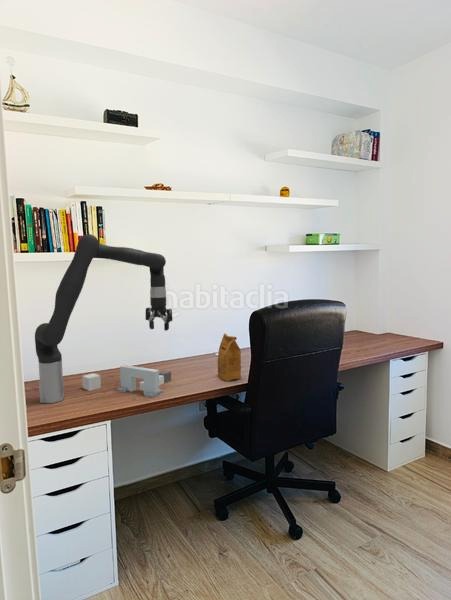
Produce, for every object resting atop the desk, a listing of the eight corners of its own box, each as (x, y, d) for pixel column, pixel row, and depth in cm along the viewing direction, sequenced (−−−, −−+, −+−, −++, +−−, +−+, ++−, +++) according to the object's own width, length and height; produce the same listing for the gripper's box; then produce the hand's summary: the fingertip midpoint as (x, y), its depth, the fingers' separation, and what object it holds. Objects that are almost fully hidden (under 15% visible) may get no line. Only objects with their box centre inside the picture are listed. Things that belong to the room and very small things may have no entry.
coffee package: (232, 373, 219) (232, 331, 217) (243, 379, 208) (243, 336, 205) (214, 376, 215) (214, 333, 212) (225, 382, 203) (224, 337, 201)
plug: (146, 391, 191) (146, 382, 191) (139, 390, 194) (138, 380, 193) (171, 380, 208) (170, 371, 208) (163, 379, 210) (163, 370, 210)
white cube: (82, 388, 197) (82, 375, 196) (94, 385, 201) (93, 373, 201) (89, 391, 193) (88, 378, 192) (100, 388, 197) (100, 375, 197)
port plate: (151, 397, 183) (151, 373, 181) (117, 391, 192) (116, 367, 191) (162, 392, 190) (162, 368, 188) (128, 386, 199) (128, 363, 198)
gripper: (175, 296, 200) (175, 329, 201) (151, 294, 206) (152, 327, 208) (165, 297, 193) (166, 332, 195) (141, 296, 200) (142, 329, 202)
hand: (159, 329), depth 201 cm, fingers open, 8 cm apart
